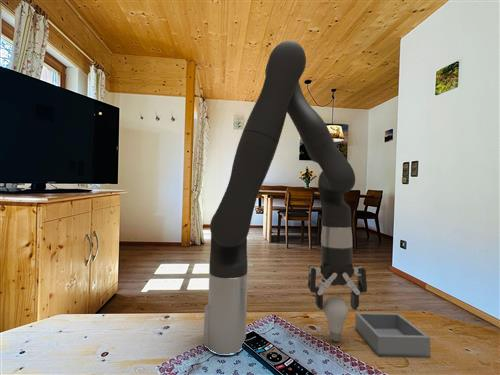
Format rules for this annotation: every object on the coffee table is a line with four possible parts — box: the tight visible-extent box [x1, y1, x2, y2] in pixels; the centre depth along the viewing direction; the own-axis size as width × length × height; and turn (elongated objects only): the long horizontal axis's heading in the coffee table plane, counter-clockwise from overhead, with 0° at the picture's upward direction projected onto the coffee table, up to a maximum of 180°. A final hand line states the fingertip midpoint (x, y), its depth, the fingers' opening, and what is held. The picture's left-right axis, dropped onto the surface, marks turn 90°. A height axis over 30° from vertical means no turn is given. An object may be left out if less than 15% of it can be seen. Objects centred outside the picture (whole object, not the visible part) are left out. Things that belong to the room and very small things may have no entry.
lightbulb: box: [322, 295, 350, 343], centre depth 63 cm, size 6×6×11 cm
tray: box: [354, 312, 431, 358], centre depth 63 cm, size 12×12×4 cm
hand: (337, 308), depth 63 cm, fingers open, 8 cm apart
